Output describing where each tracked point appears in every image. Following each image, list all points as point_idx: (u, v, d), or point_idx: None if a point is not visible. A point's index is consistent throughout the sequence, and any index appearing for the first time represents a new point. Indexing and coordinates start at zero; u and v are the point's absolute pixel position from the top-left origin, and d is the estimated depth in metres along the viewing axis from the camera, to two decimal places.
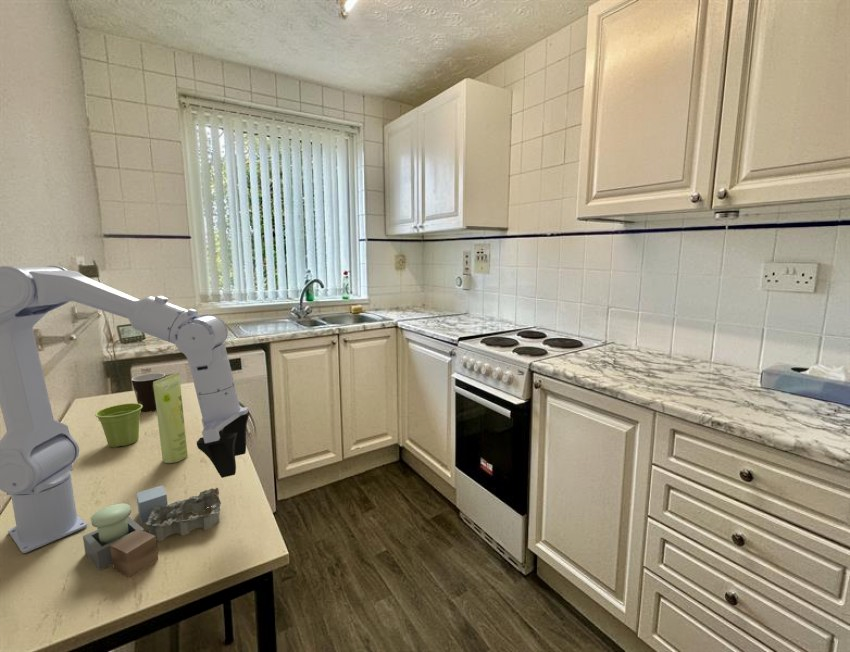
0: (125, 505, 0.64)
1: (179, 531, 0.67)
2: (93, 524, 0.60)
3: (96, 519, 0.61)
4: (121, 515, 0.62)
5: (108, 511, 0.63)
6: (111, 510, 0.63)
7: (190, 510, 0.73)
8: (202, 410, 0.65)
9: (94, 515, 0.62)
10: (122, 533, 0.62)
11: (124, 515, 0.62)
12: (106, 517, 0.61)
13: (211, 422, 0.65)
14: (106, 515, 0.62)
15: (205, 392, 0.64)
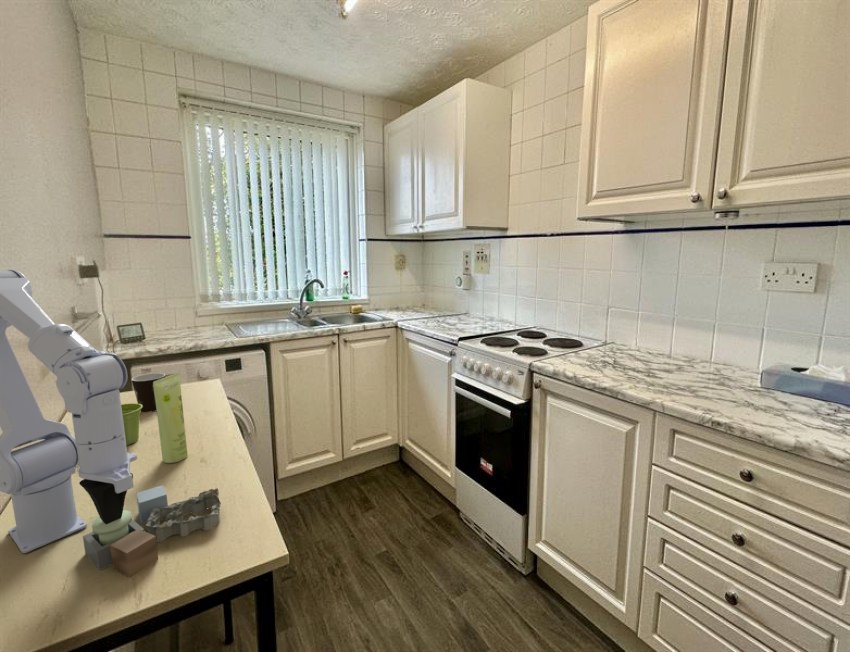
0: (125, 512, 0.64)
1: (179, 532, 0.67)
2: (94, 531, 0.60)
3: (97, 526, 0.61)
4: (122, 522, 0.62)
5: None
6: None
7: (189, 511, 0.73)
8: (90, 462, 0.58)
9: (95, 522, 0.62)
10: None
11: (125, 522, 0.62)
12: (107, 524, 0.61)
13: (105, 473, 0.59)
14: None
15: (77, 441, 0.58)
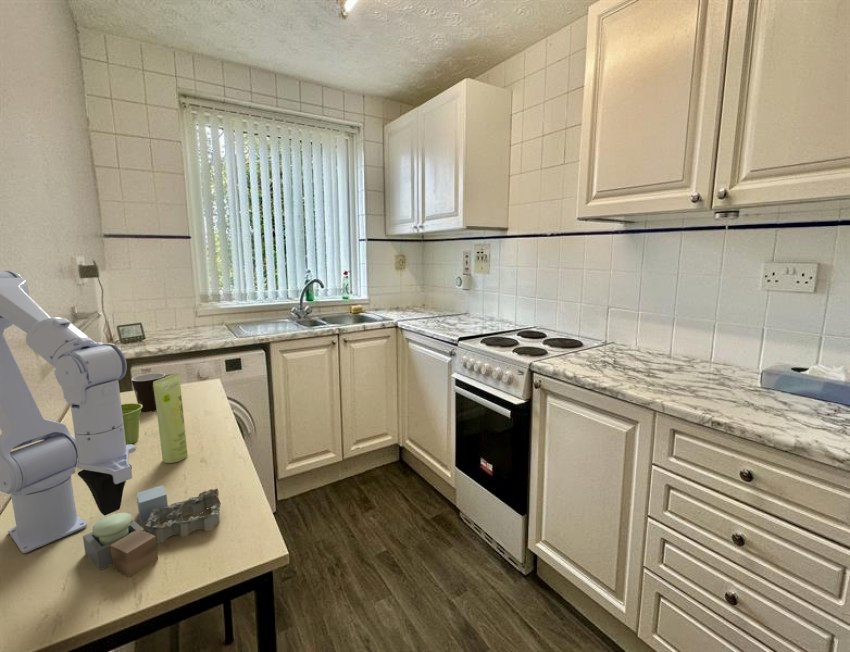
0: (126, 514, 0.64)
1: (179, 532, 0.67)
2: (94, 534, 0.61)
3: (97, 529, 0.61)
4: (122, 525, 0.62)
5: (109, 520, 0.63)
6: (112, 519, 0.63)
7: (189, 511, 0.73)
8: (89, 452, 0.58)
9: (95, 525, 0.62)
10: None
11: (125, 525, 0.62)
12: (107, 526, 0.61)
13: (103, 464, 0.59)
14: (107, 525, 0.62)
15: (76, 432, 0.58)
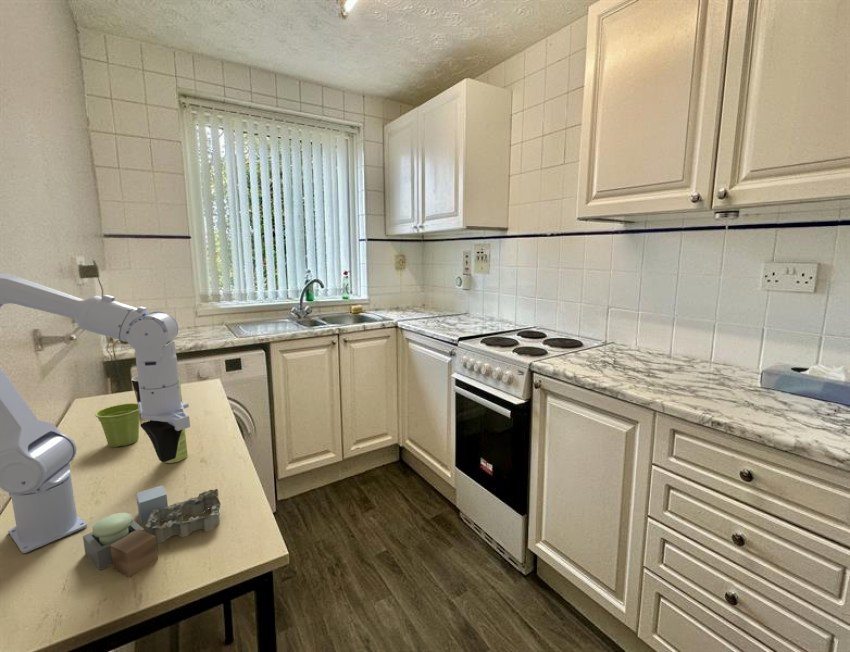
0: (126, 514, 0.64)
1: (179, 533, 0.67)
2: (94, 534, 0.61)
3: (97, 529, 0.61)
4: (122, 525, 0.62)
5: (109, 520, 0.63)
6: (112, 519, 0.63)
7: (189, 512, 0.73)
8: (152, 405, 0.66)
9: (95, 525, 0.62)
10: None
11: (125, 525, 0.62)
12: (107, 526, 0.61)
13: (164, 415, 0.67)
14: (107, 525, 0.62)
15: (150, 387, 0.66)
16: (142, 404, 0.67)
